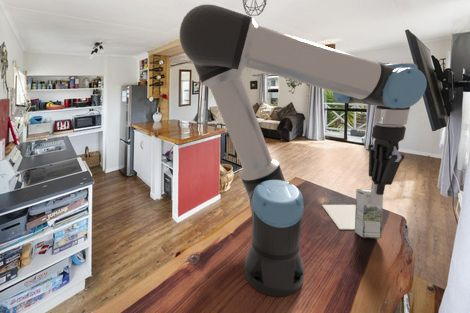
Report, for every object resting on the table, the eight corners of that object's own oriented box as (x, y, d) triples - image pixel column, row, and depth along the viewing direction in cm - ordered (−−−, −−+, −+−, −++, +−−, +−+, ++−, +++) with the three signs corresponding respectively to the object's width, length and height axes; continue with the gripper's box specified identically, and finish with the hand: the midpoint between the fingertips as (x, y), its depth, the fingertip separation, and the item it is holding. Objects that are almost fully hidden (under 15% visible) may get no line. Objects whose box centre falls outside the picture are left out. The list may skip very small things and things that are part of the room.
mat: (339, 229, 78) (339, 228, 78) (322, 205, 94) (322, 204, 94) (381, 229, 78) (381, 228, 78) (356, 205, 94) (356, 204, 94)
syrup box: (372, 233, 76) (373, 189, 77) (382, 239, 70) (383, 191, 71) (354, 232, 77) (355, 188, 77) (362, 238, 71) (363, 190, 71)
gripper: (421, 128, 57) (402, 213, 64) (388, 121, 69) (375, 193, 76) (390, 128, 57) (374, 213, 64) (363, 121, 70) (352, 193, 76)
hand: (375, 202), depth 70 cm, fingers closed
